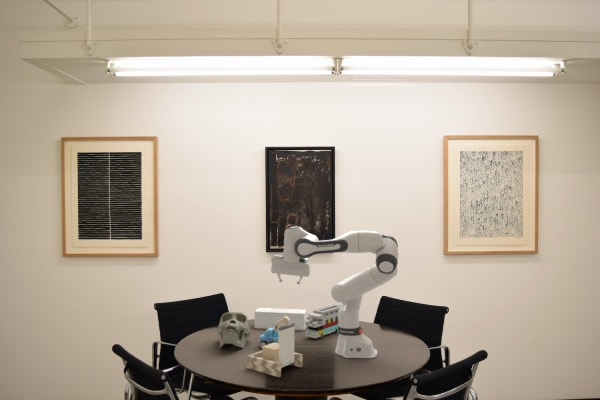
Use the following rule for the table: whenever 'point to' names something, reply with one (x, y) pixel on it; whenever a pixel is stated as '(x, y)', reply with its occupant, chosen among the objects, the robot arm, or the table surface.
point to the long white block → (280, 317)
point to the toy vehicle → (322, 321)
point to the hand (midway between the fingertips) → (289, 282)
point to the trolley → (281, 347)
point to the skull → (234, 329)
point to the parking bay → (270, 363)
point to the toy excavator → (273, 333)
